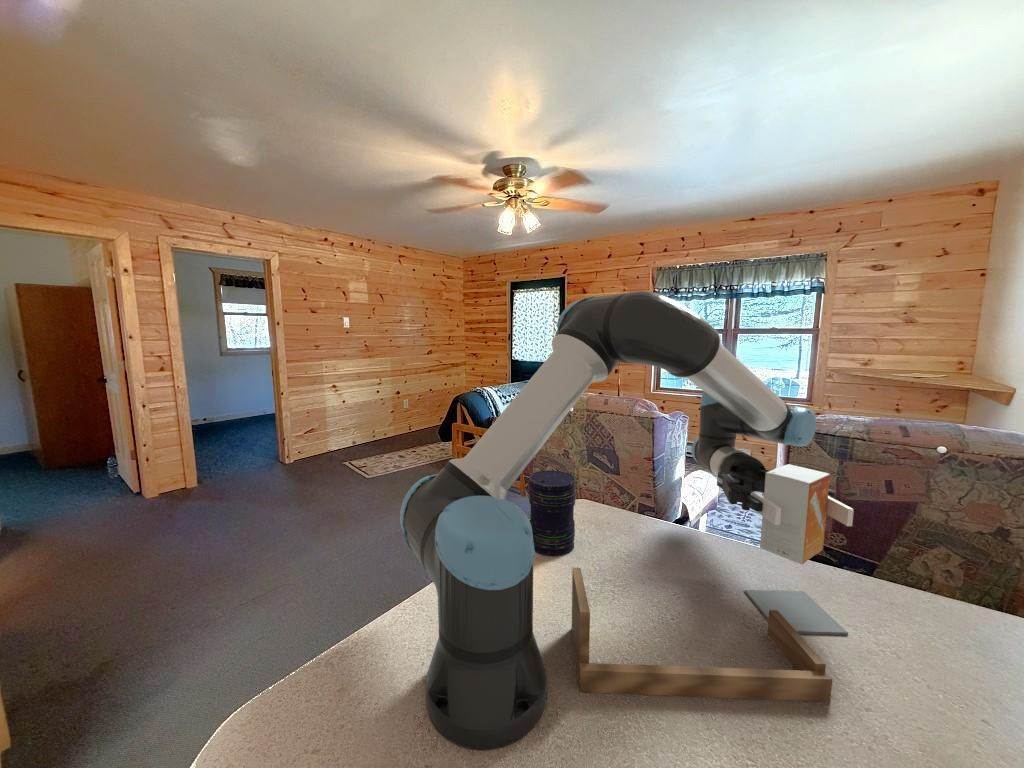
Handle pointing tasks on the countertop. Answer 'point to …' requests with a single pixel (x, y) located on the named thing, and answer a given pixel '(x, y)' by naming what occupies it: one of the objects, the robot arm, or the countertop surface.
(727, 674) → the wooden u-shaped frame
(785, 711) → the countertop surface
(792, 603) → the mat
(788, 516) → the small box
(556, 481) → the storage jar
